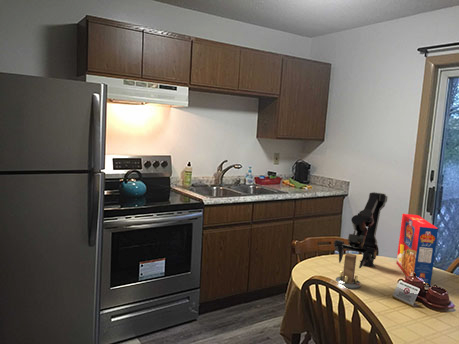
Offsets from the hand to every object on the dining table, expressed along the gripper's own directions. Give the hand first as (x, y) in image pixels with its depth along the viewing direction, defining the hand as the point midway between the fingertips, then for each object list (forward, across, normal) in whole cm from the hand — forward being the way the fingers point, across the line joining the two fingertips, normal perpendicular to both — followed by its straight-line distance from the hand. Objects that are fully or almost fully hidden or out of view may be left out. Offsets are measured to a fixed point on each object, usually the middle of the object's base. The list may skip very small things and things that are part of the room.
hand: (349, 265), depth 170 cm
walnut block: (+5, 0, +6) cm, 8 cm away
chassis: (+6, 0, +7) cm, 9 cm away
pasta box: (-20, +22, +33) cm, 44 cm away
